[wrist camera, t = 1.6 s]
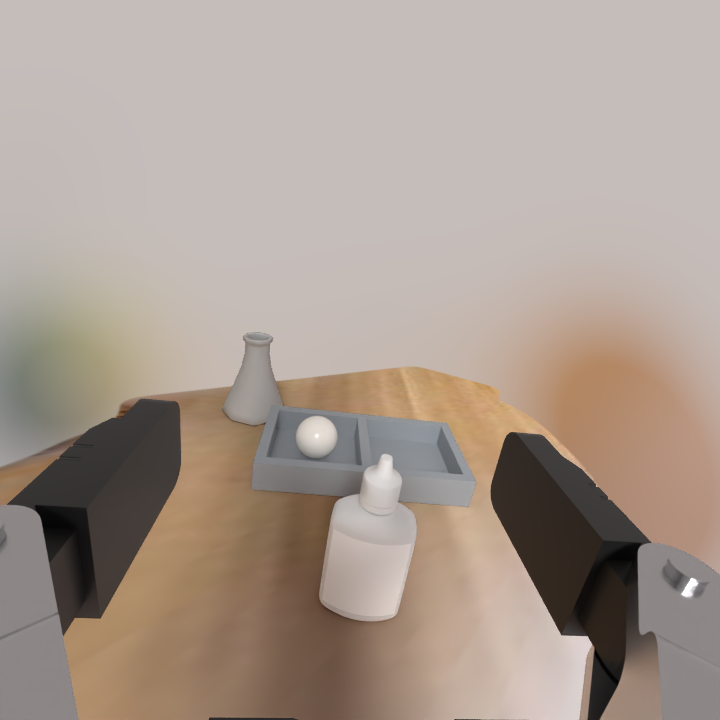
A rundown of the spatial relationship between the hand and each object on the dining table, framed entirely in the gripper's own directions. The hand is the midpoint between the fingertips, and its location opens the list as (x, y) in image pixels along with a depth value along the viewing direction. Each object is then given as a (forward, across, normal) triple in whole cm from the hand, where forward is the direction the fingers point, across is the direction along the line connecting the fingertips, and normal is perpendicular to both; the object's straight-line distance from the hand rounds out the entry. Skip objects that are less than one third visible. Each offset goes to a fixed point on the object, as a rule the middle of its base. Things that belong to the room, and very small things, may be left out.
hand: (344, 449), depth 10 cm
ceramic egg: (+28, 0, +19) cm, 34 cm away
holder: (+28, -5, +20) cm, 35 cm away
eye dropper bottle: (+12, -4, +20) cm, 24 cm away
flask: (+37, +8, +20) cm, 43 cm away
